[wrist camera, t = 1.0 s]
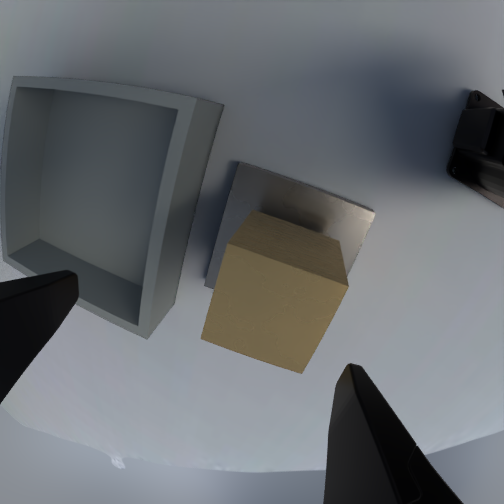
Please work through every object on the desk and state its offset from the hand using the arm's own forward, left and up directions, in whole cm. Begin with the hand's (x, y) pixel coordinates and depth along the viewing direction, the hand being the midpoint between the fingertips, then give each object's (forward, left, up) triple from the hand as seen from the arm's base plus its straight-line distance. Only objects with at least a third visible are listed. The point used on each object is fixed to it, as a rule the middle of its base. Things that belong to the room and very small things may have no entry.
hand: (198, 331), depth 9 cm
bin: (+12, +2, -13) cm, 18 cm away
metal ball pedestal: (-2, +2, -13) cm, 13 cm away
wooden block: (-2, +2, -10) cm, 10 cm away
